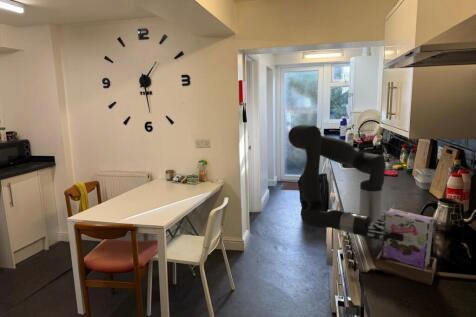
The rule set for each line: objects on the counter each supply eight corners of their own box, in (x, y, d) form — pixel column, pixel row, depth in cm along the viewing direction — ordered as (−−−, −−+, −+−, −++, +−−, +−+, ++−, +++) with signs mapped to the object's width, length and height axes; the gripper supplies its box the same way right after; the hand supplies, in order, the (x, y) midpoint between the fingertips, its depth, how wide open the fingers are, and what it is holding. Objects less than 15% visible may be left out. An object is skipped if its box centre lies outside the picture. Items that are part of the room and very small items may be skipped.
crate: (383, 256, 121) (383, 246, 120) (435, 269, 111) (436, 258, 110) (375, 269, 112) (375, 259, 111) (431, 285, 102) (432, 273, 101)
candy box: (380, 256, 113) (383, 211, 110) (387, 250, 117) (390, 207, 114) (424, 270, 104) (429, 222, 100) (430, 263, 108) (434, 217, 104)
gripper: (349, 220, 113) (401, 231, 103) (361, 208, 124) (410, 217, 114) (348, 240, 114) (400, 253, 104) (360, 226, 126) (408, 237, 116)
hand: (405, 234), depth 109 cm, fingers closed on candy box, 6 cm apart
